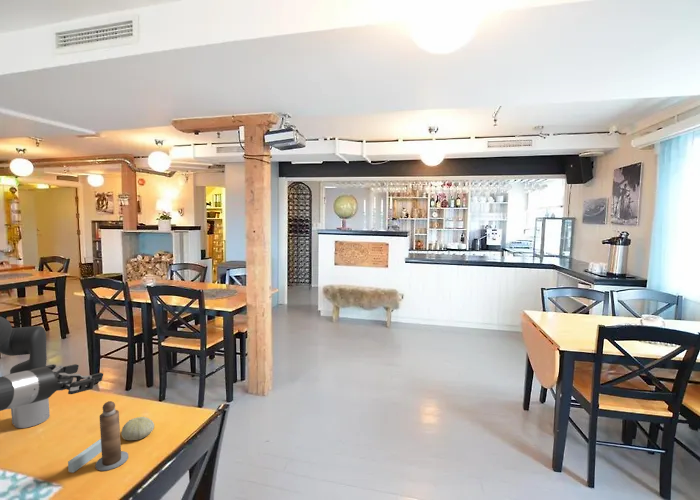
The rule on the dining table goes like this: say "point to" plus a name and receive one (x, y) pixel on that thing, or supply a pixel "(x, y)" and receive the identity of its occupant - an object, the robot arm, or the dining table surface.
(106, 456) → the pepper mill
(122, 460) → the gray pad
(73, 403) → the dining table surface
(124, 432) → the sea urchin shell
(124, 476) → the dining table surface
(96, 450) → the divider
